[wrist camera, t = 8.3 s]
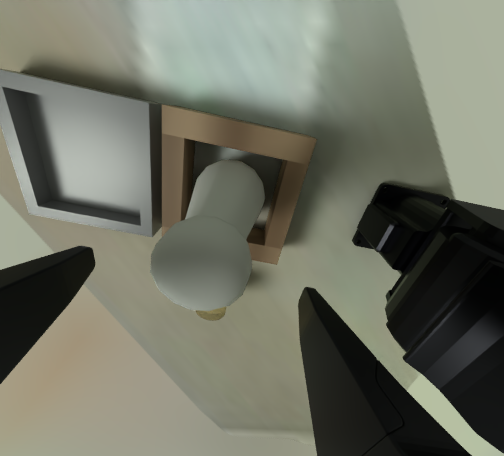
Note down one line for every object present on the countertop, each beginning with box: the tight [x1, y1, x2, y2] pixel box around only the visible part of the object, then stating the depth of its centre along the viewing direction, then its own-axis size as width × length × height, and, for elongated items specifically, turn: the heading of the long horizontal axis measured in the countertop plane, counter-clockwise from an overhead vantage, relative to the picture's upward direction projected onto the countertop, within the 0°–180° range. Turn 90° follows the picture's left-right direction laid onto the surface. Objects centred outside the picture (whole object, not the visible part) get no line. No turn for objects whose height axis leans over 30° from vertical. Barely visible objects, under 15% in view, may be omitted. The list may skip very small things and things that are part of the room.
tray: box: [0, 69, 164, 237], centre depth 18 cm, size 11×11×2 cm
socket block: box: [162, 105, 317, 265], centre depth 19 cm, size 11×11×3 cm
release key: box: [196, 307, 226, 320], centre depth 22 cm, size 3×9×4 cm, turn 169°
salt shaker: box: [150, 160, 265, 311], centre depth 14 cm, size 6×6×13 cm
